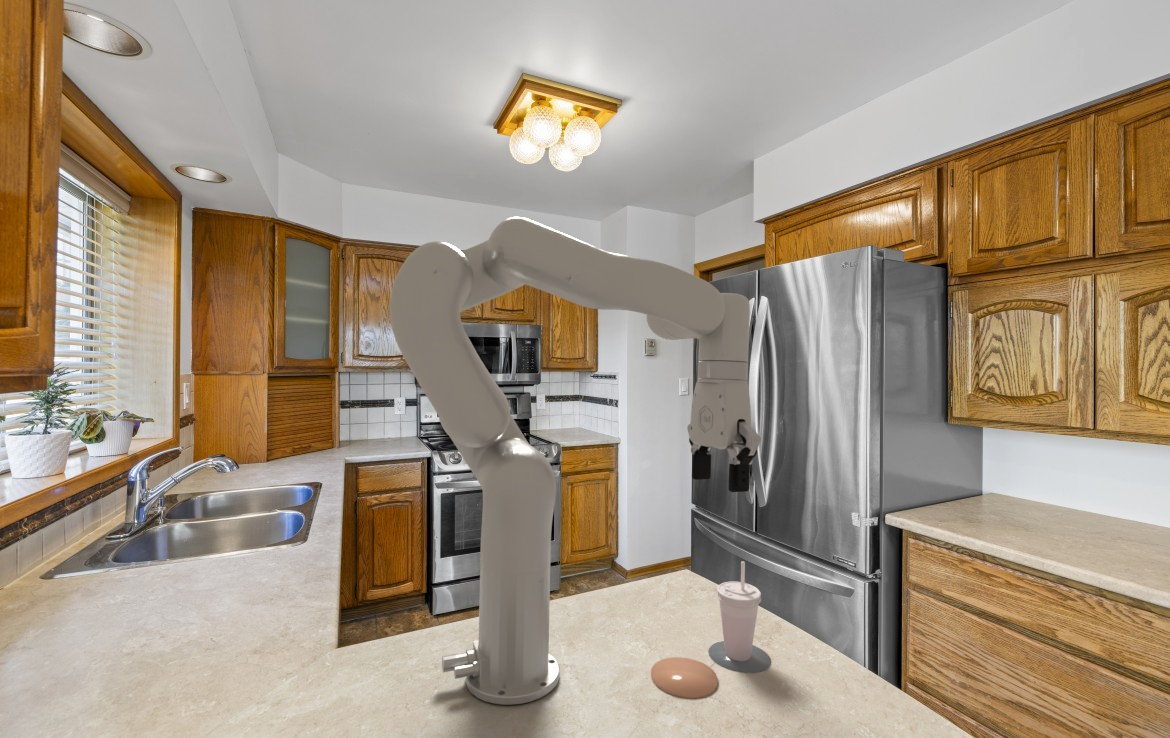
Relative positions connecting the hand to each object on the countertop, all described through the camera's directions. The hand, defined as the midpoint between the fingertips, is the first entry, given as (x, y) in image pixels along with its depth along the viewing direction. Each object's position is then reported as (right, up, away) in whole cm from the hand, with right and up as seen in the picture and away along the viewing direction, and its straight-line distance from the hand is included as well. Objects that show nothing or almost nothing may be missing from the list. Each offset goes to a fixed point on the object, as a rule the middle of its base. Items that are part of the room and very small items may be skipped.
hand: (718, 484), depth 80 cm
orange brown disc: (-7, -25, -9) cm, 27 cm away
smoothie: (+2, -25, -2) cm, 25 cm away
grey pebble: (+2, -26, -3) cm, 26 cm away
